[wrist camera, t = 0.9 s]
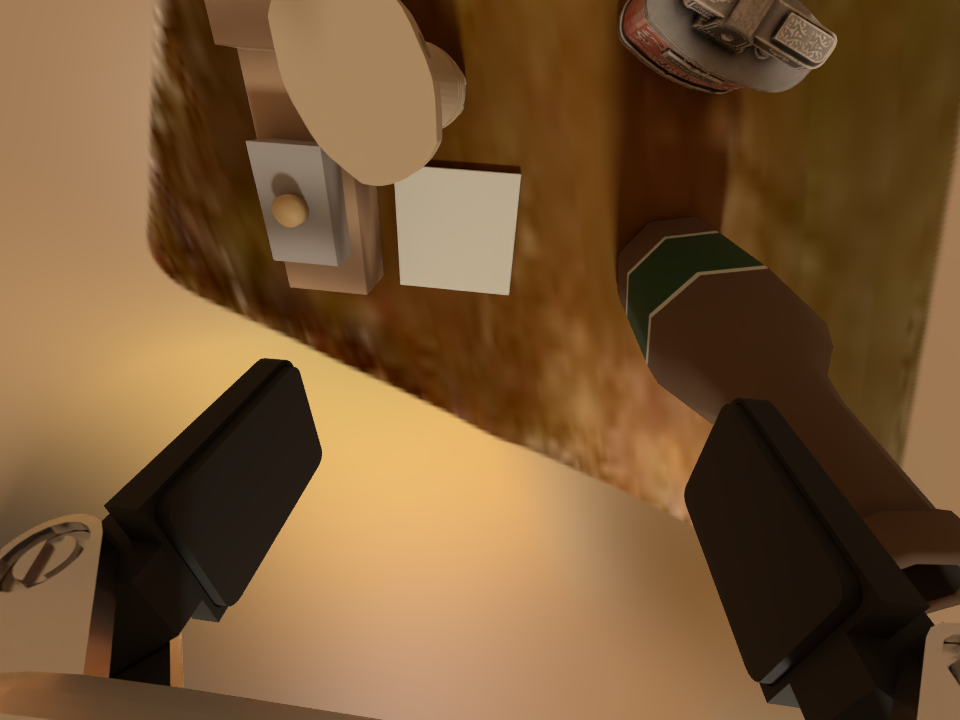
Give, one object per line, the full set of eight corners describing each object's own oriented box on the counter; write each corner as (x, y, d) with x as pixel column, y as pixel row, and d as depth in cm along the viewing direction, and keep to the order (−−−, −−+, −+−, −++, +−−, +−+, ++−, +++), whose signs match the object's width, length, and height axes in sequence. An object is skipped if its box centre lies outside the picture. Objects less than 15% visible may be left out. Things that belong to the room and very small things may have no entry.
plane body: (261, -22, 24) (165, -65, 18) (359, -18, 23) (296, -60, 17) (314, 268, 34) (264, 306, 27) (383, 275, 33) (349, 315, 27)
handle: (434, 158, 28) (353, 206, 15) (386, 54, 25) (238, 10, 13) (497, 125, 26) (463, 147, 14) (454, 10, 24) (361, -91, 11)
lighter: (604, 44, 24) (642, 13, 15) (639, -29, 22) (704, -109, 13) (719, 108, 25) (812, 112, 16) (761, 44, 23) (891, 11, 14)
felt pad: (395, 163, 28) (393, 164, 28) (521, 173, 28) (521, 174, 28) (401, 282, 33) (400, 284, 33) (509, 293, 33) (508, 295, 32)
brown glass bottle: (595, 297, 32) (693, 621, 12) (639, 198, 28) (902, 448, 8) (687, 322, 32) (931, 680, 12) (745, 227, 28) (1260, 544, 8)
